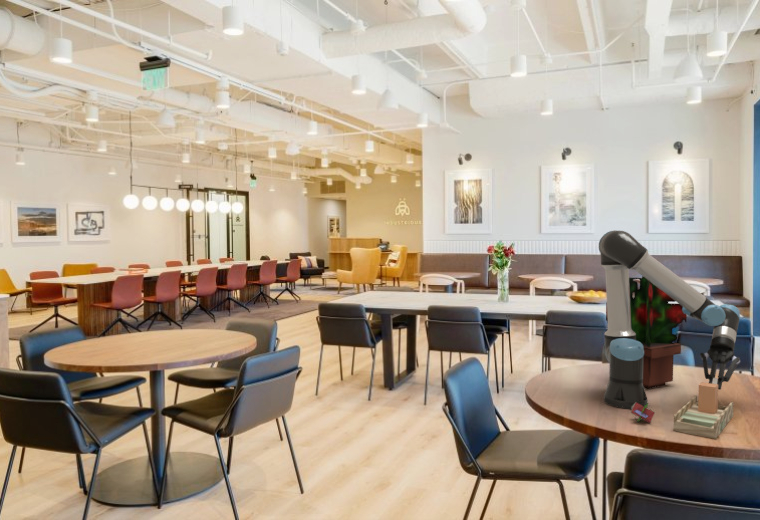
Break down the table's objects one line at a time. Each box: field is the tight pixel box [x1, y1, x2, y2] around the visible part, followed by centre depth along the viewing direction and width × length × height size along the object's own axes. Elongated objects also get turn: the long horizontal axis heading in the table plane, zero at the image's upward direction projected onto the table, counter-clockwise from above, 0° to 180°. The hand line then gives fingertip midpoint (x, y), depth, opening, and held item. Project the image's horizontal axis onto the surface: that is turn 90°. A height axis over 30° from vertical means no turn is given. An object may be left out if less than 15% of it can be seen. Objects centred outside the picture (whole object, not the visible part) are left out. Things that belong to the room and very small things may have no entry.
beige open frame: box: [672, 395, 734, 440], centre depth 195 cm, size 30×12×5 cm, turn 140°
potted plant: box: [605, 275, 688, 390], centre depth 245 cm, size 22×22×45 cm
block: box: [697, 381, 719, 414], centre depth 199 cm, size 5×5×9 cm
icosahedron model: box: [630, 402, 656, 424], centre depth 196 cm, size 7×7×8 cm
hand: (712, 395), depth 203 cm, fingers closed
